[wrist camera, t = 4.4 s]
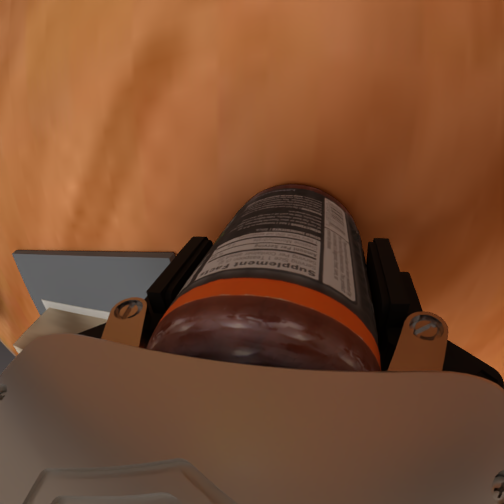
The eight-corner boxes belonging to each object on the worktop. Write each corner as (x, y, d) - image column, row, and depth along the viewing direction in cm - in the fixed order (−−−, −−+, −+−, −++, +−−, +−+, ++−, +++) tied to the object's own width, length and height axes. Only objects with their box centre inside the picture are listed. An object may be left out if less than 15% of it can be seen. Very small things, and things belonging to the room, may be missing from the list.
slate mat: (173, 252, 16) (168, 258, 15) (220, 411, 23) (218, 417, 22) (16, 250, 19) (11, 254, 19) (81, 374, 26) (78, 379, 26)
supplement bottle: (344, 304, 15) (328, 537, 5) (231, 283, 16) (129, 490, 6) (373, 192, 12) (455, 480, 2) (236, 170, 13) (31, 381, 3)
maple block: (107, 319, 19) (67, 368, 15) (139, 382, 22) (112, 428, 18) (49, 307, 21) (12, 344, 16) (81, 365, 24) (54, 402, 20)
